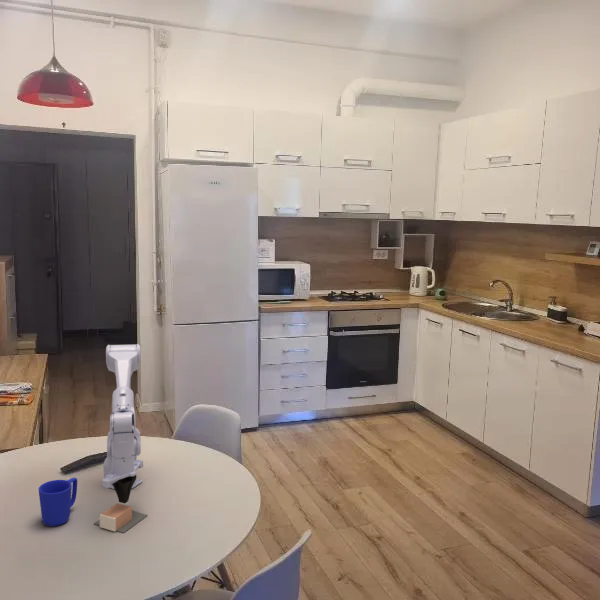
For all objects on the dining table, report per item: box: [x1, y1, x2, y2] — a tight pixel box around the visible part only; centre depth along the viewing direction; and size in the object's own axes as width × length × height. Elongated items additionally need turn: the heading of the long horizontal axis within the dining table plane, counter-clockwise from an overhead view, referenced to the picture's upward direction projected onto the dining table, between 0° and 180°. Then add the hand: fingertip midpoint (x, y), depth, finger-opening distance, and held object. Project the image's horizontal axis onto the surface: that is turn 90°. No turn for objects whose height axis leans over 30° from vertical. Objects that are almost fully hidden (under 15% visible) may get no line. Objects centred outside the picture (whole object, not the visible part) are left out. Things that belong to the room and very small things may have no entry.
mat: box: [93, 510, 148, 534], centre depth 160 cm, size 10×10×1 cm
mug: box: [38, 477, 78, 527], centre depth 159 cm, size 8×12×10 cm
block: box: [99, 502, 133, 532], centre depth 157 cm, size 5×4×7 cm
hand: (123, 501), depth 160 cm, fingers closed
